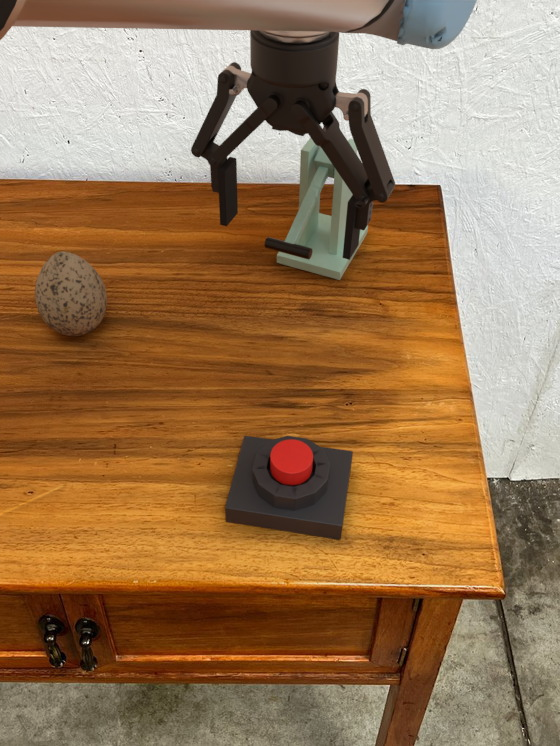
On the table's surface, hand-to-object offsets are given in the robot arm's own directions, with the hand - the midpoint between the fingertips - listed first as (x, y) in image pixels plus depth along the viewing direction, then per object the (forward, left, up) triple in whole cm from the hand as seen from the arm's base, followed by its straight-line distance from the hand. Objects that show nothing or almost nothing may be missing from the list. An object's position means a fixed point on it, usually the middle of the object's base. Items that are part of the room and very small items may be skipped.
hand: (288, 235), depth 80 cm
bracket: (+3, +11, -9) cm, 15 cm away
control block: (+5, -25, -9) cm, 27 cm away
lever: (+2, +6, 0) cm, 6 cm away
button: (+5, -25, -6) cm, 26 cm away
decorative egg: (-21, -8, -10) cm, 25 cm away
